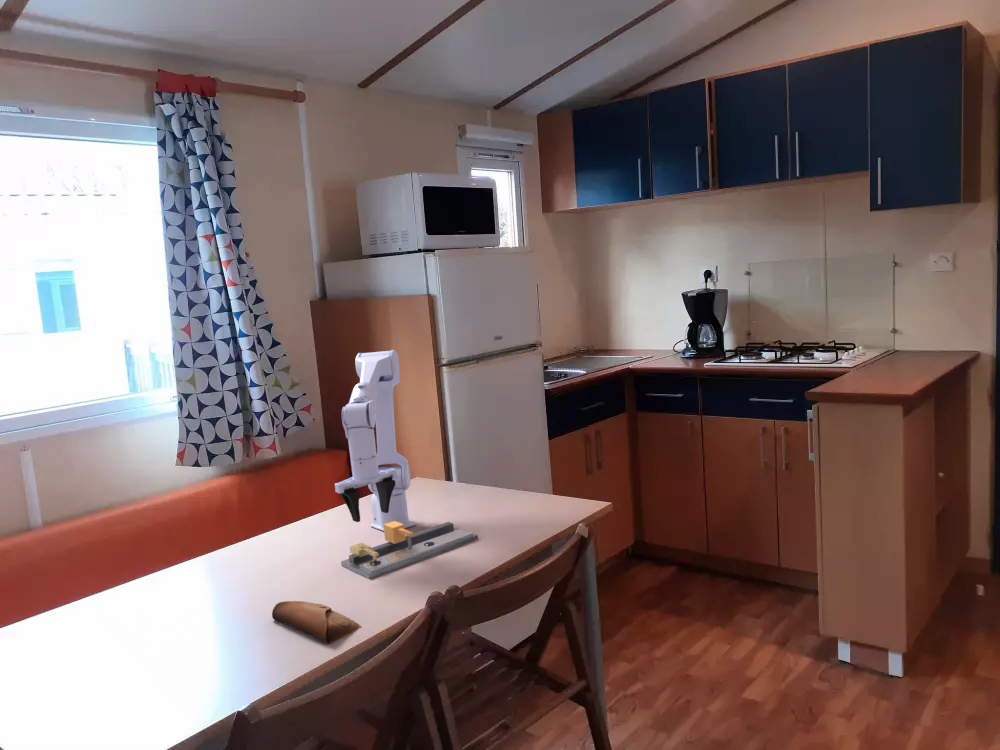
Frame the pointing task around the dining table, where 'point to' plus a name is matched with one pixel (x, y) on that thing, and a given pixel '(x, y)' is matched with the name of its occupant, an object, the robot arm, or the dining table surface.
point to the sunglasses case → (314, 619)
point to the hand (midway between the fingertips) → (370, 516)
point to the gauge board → (405, 550)
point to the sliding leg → (397, 533)
